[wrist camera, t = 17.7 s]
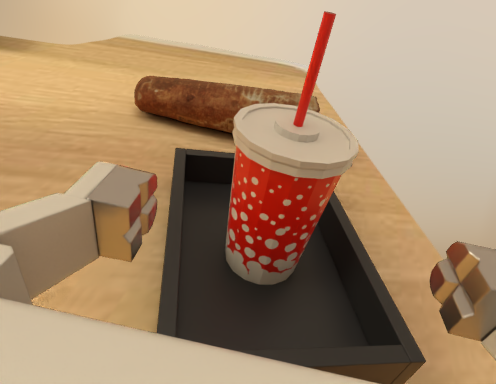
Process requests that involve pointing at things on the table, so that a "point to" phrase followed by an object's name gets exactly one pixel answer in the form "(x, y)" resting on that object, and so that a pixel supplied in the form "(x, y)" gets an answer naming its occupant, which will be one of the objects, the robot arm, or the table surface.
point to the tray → (277, 288)
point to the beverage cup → (283, 178)
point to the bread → (206, 100)
